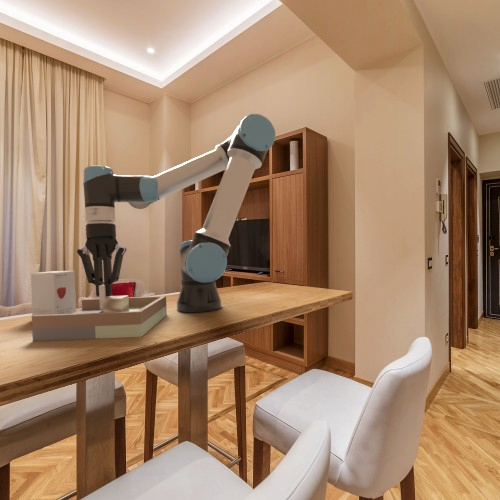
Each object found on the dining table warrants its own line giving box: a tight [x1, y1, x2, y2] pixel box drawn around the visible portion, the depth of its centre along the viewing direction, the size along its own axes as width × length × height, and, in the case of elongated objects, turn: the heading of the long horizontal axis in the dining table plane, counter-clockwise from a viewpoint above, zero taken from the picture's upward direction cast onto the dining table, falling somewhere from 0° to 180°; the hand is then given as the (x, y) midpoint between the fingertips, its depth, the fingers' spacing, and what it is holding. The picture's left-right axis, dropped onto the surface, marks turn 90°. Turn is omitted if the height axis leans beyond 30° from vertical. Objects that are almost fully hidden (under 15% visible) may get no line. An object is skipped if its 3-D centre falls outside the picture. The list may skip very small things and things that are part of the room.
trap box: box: [31, 295, 168, 342], centre depth 87 cm, size 26×24×6 cm
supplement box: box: [30, 270, 77, 317], centre depth 102 cm, size 9×9×15 cm
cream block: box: [103, 294, 129, 312], centre depth 87 cm, size 5×5×5 cm
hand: (104, 308), depth 87 cm, fingers closed
